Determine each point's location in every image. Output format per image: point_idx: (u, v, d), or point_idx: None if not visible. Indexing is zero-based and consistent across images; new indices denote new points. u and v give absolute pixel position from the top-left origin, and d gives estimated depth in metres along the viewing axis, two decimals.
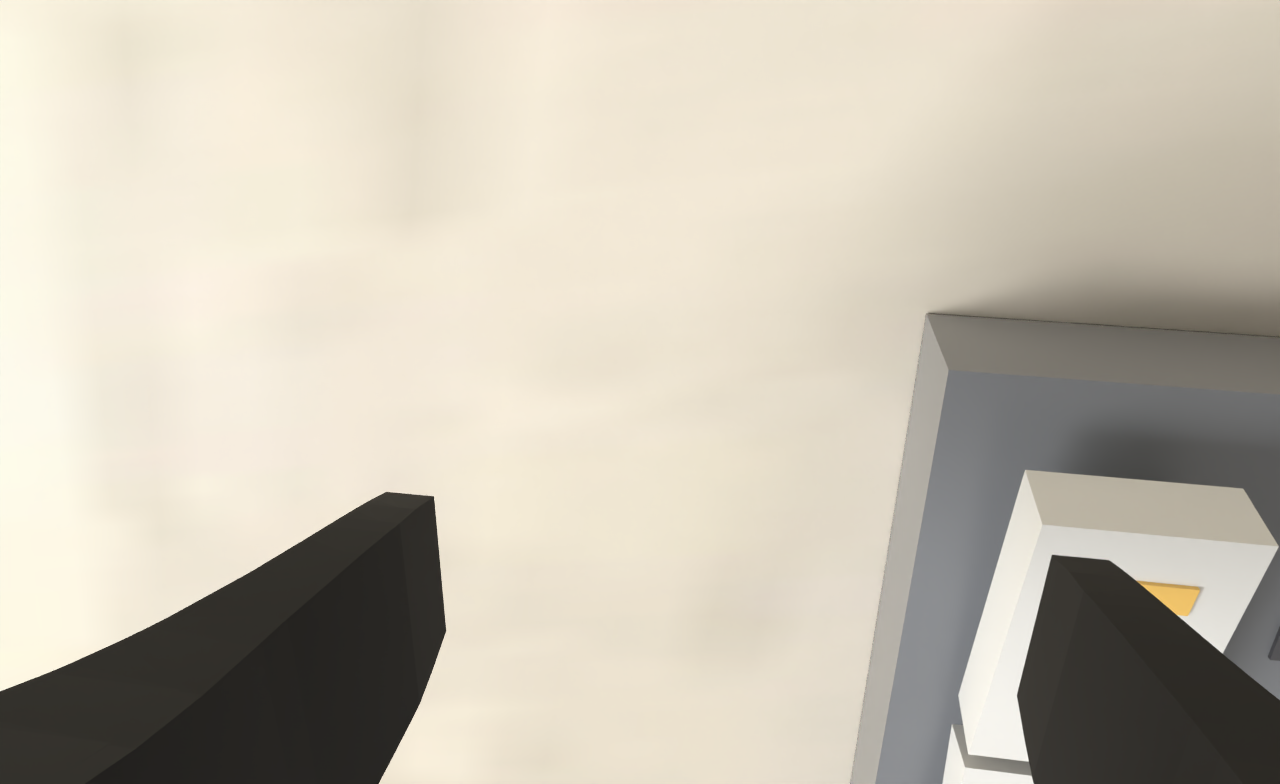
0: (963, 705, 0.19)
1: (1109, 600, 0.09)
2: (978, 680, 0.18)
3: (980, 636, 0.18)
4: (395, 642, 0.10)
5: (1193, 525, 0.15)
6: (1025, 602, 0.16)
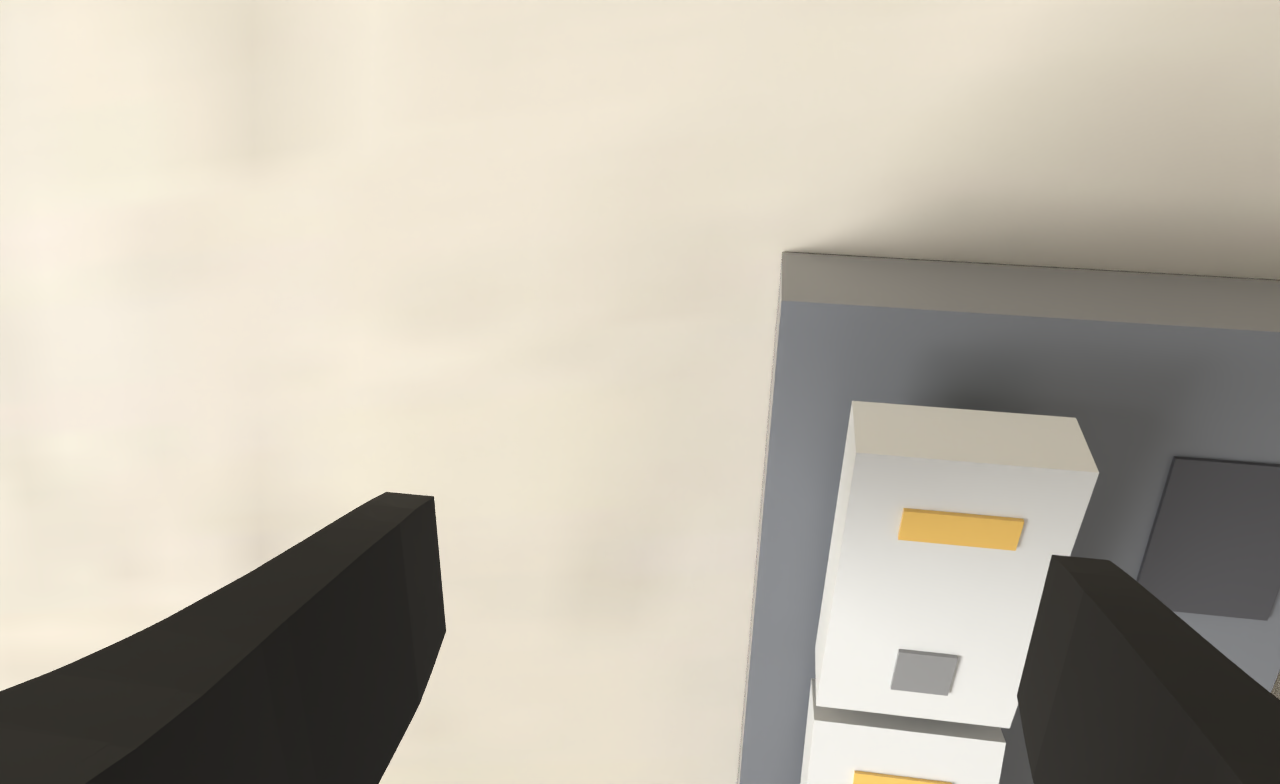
0: (816, 656, 0.18)
1: (1109, 600, 0.09)
2: (823, 628, 0.17)
3: (826, 582, 0.17)
4: (395, 642, 0.10)
5: (1014, 453, 0.14)
6: (850, 539, 0.15)
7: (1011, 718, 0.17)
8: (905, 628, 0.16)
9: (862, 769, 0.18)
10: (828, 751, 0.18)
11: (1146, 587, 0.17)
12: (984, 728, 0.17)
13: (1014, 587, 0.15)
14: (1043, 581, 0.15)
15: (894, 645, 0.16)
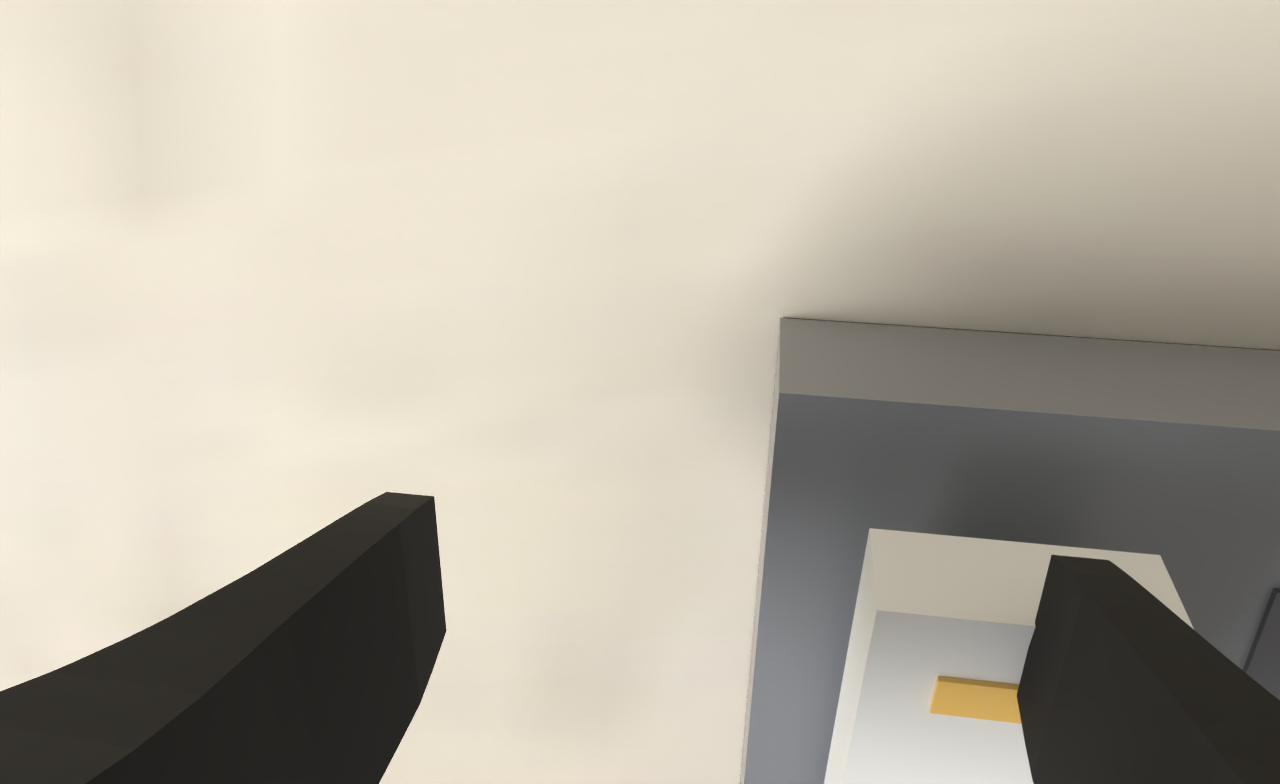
0: None
1: (1109, 600, 0.09)
2: None
3: (835, 736, 0.14)
4: (395, 642, 0.10)
5: None
6: (867, 708, 0.12)
7: None
8: None
9: None
10: None
11: None
12: None
13: None
14: None
15: None
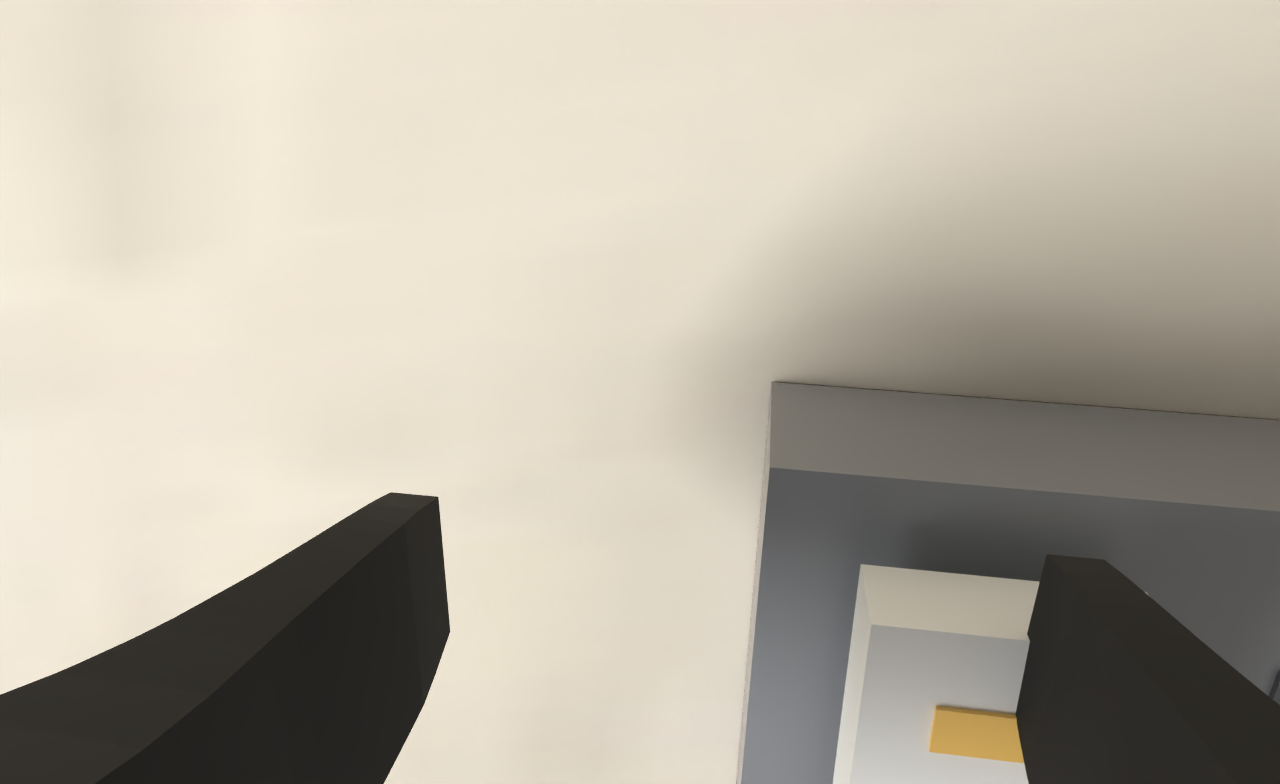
0: None
1: (1103, 599, 0.09)
2: None
3: None
4: (400, 642, 0.10)
5: None
6: (864, 750, 0.11)
7: None
8: None
9: None
10: None
11: None
12: None
13: None
14: None
15: None
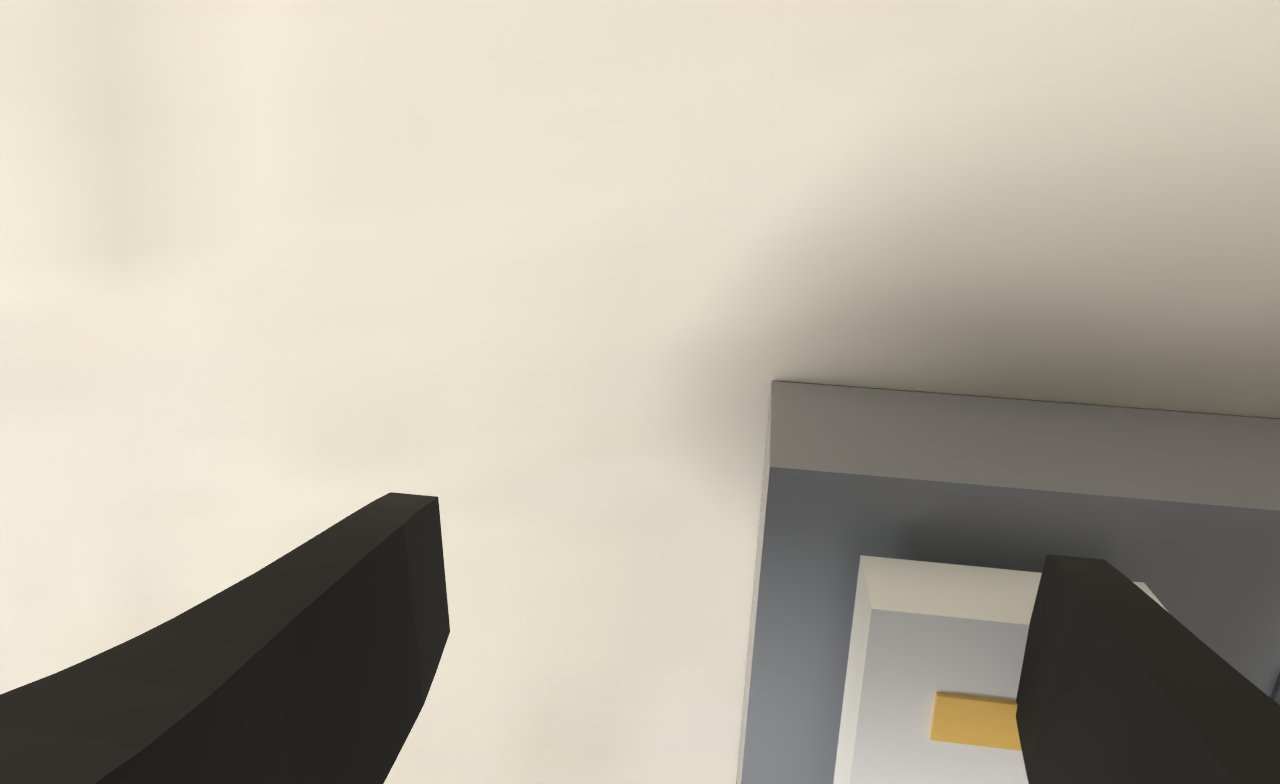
0: None
1: (1103, 599, 0.09)
2: None
3: None
4: (399, 643, 0.10)
5: None
6: (866, 739, 0.11)
7: None
8: None
9: None
10: None
11: None
12: None
13: None
14: None
15: None
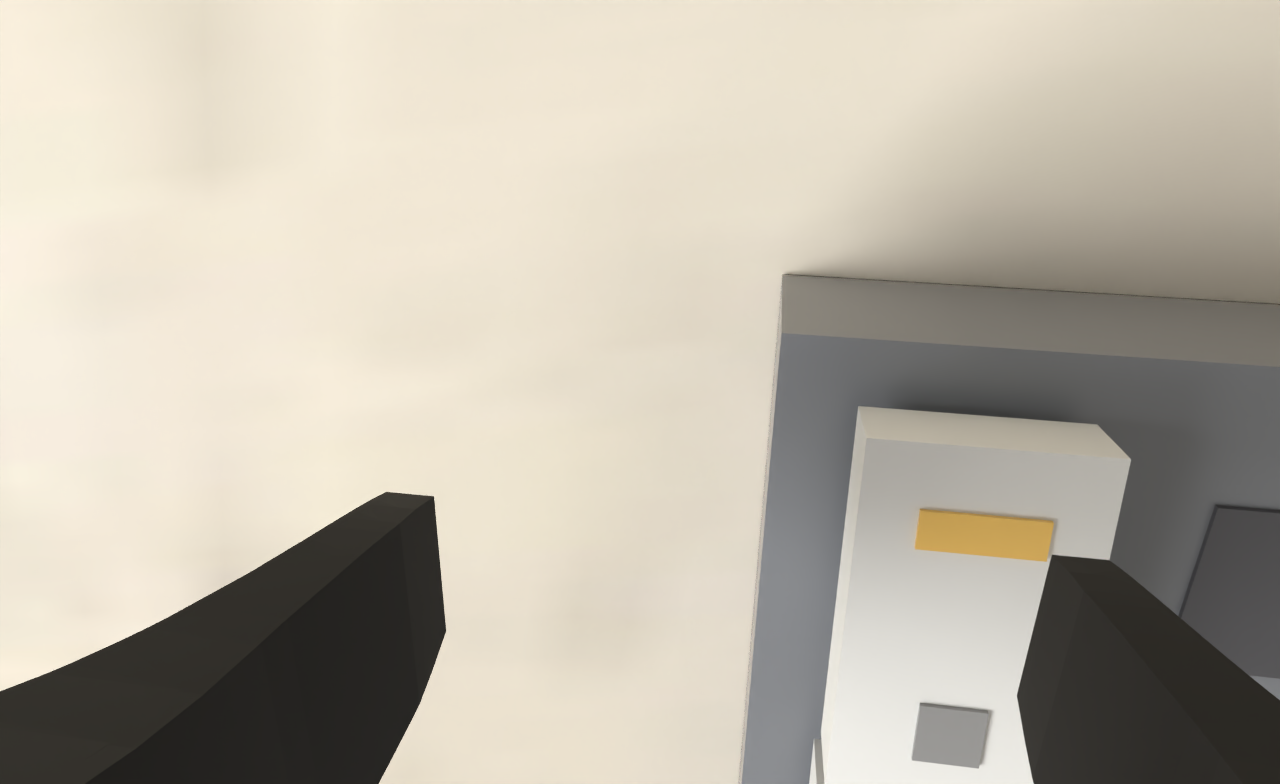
0: (823, 736, 0.16)
1: (1109, 600, 0.09)
2: (831, 687, 0.15)
3: (833, 635, 0.15)
4: (395, 642, 0.10)
5: (1037, 444, 0.13)
6: (861, 550, 0.13)
7: None
8: (926, 673, 0.14)
9: None
10: None
11: None
12: None
13: None
14: None
15: (915, 698, 0.14)
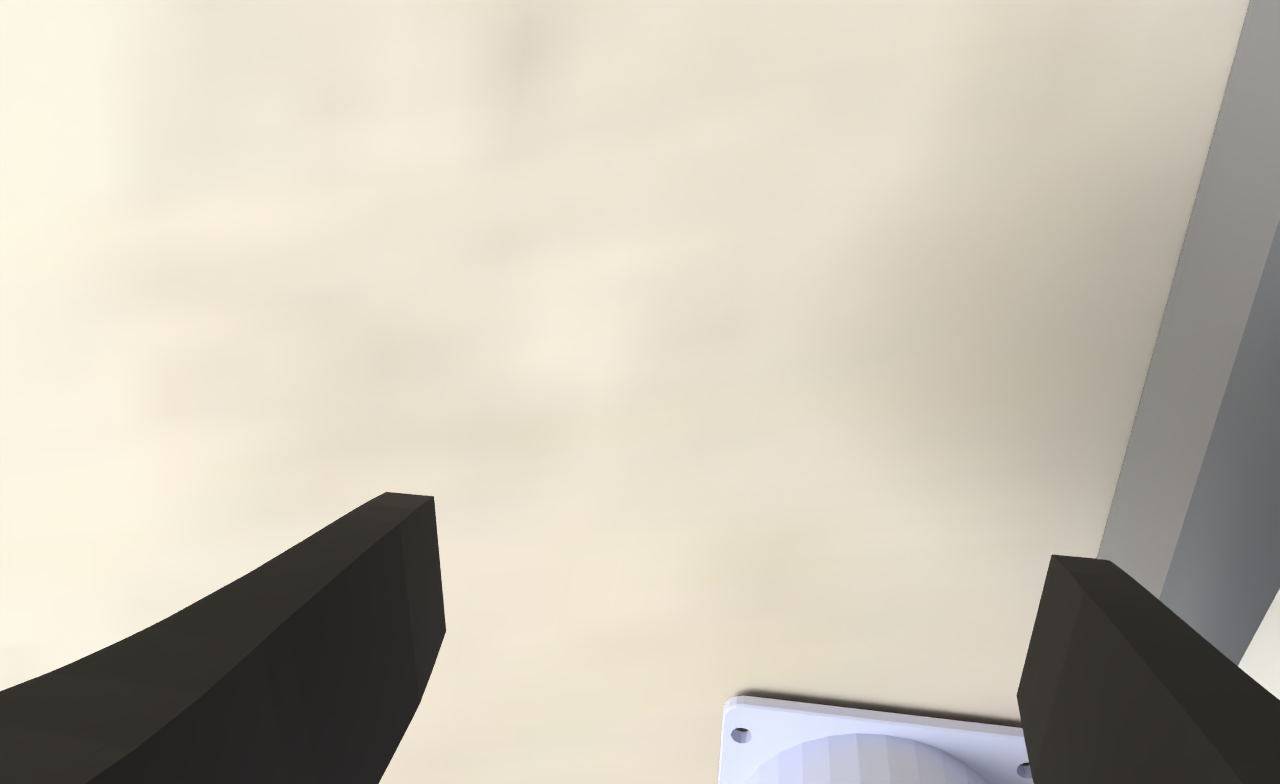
0: None
1: (1109, 600, 0.09)
2: None
3: None
4: (395, 642, 0.10)
5: None
6: None
7: None
8: None
9: None
10: None
11: None
12: None
13: None
14: None
15: None
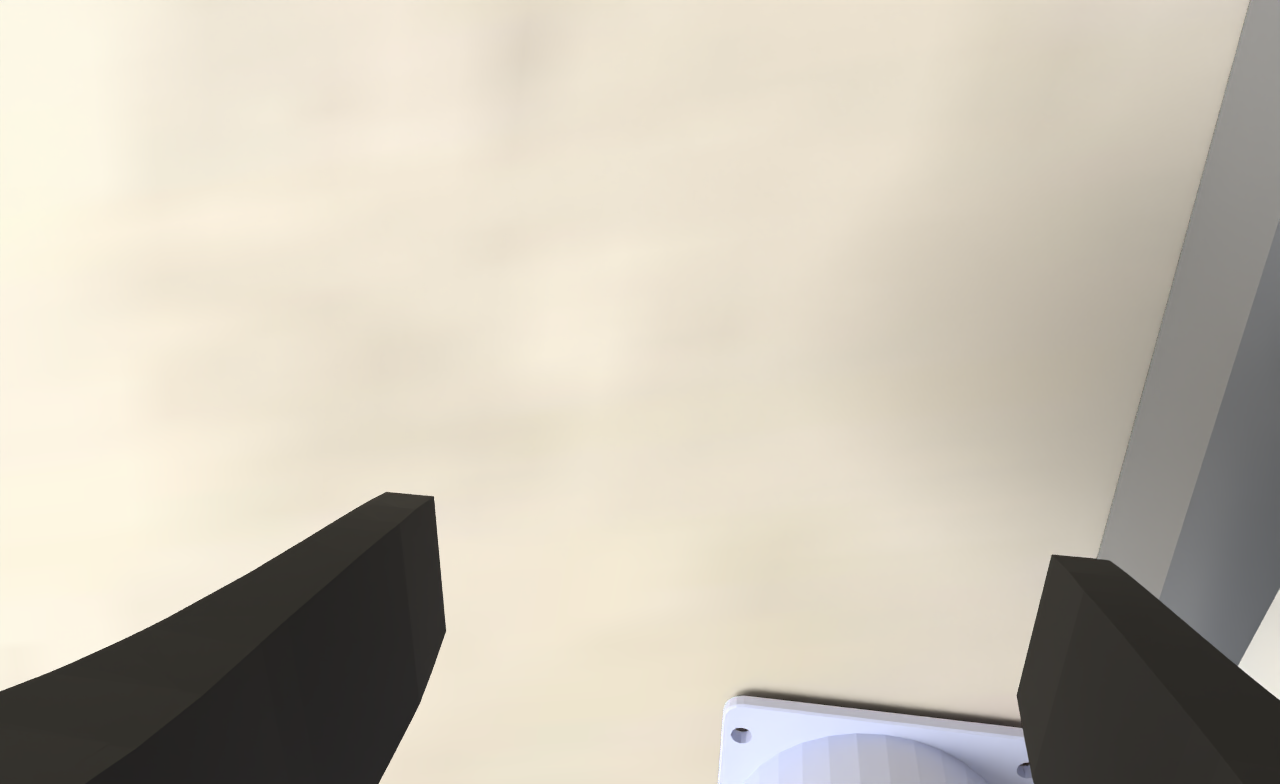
0: None
1: (1109, 600, 0.09)
2: None
3: None
4: (395, 642, 0.10)
5: None
6: None
7: None
8: None
9: None
10: None
11: None
12: None
13: None
14: None
15: None
